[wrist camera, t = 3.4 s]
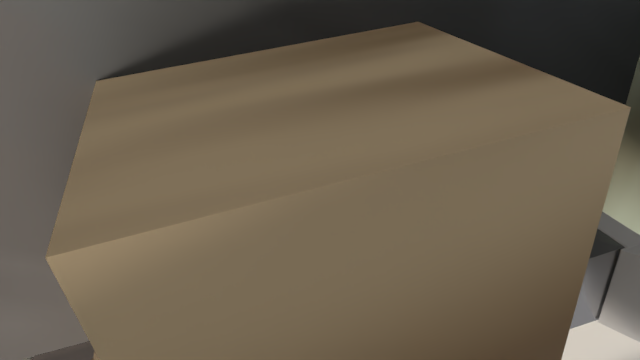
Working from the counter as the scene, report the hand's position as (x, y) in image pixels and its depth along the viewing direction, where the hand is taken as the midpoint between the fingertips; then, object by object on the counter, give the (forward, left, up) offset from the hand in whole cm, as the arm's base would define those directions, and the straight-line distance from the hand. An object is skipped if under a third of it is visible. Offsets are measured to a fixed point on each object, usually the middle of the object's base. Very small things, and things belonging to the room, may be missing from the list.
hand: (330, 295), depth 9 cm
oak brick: (0, 0, -2) cm, 2 cm away
